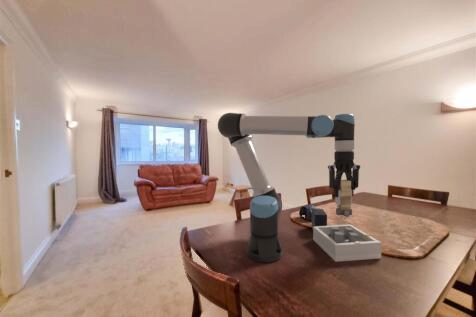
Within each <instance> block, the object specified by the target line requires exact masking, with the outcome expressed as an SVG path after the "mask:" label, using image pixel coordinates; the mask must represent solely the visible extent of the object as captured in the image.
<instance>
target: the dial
mask: <svg viewBox="0 0 476 317" xmlns="http://www.w3.org/2000/svg"><path fill="white" fill-rule="evenodd" d="M328 236H329V237H330V238H331V239H332V240H334V241H335V242H336V243H350V242H356V241H359V242H364V240H363V239H359V236H358V234H357V233H353V229H352V228H351V227H344V233H342V232H339V228H338V227H331V233H330V234H329V235H328Z"/></svg>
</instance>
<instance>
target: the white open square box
mask: <svg viewBox="0 0 476 317" xmlns="http://www.w3.org/2000/svg"><path fill="white" fill-rule="evenodd" d="M331 227H338V228H339V232H342V233H344V227H351V228H352V229H353V233H357V234H358V236H359V239H363V240H364V242H359V241H356V242H350V243H336V242H335V241H334V240H332V239H331V238H330V237H329V236H328V235H329V234H330V233H331ZM312 233H313V234H312V237H313V238H312V239H313V241H314V242H315V244H317V245H318V246H319V247H320V248H321V249H322V250H323V252H325V253H327V255H328V256H329V257H330V258H331V259H332V260H333V261H334V262H336V263H337V262H349V261H351V262H352V261H362V260H374V259H376V260H377V259H382V241H379V240H378V239H376V238H374V236H371V234H370V233H369V234H367V232H364V231H363V230H361V229H359V228H357V227H356V226H355V225H352V224H338V225H337V224H336V225H334V224H333V225H327V226H315V227H313V229H312Z"/></svg>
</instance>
